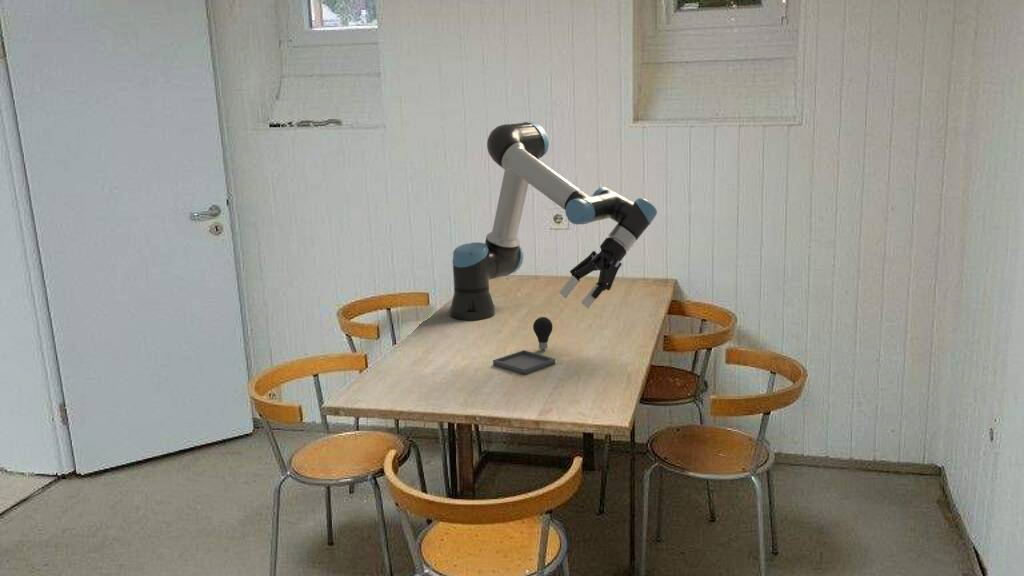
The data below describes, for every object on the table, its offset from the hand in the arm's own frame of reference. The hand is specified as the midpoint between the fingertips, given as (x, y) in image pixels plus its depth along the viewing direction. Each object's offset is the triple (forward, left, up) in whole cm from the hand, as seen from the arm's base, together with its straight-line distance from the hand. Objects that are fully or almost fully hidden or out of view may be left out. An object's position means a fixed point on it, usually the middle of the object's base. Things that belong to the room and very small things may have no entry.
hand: (573, 300), depth 265 cm
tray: (+1, -22, -14) cm, 26 cm away
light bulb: (-4, -9, -14) cm, 17 cm away
